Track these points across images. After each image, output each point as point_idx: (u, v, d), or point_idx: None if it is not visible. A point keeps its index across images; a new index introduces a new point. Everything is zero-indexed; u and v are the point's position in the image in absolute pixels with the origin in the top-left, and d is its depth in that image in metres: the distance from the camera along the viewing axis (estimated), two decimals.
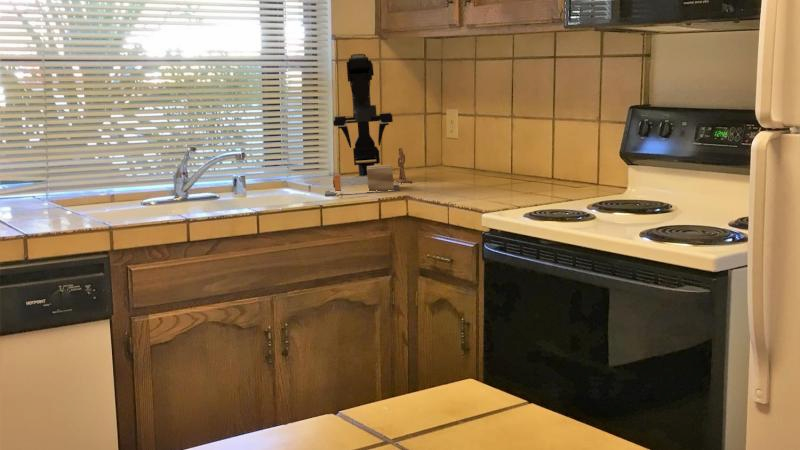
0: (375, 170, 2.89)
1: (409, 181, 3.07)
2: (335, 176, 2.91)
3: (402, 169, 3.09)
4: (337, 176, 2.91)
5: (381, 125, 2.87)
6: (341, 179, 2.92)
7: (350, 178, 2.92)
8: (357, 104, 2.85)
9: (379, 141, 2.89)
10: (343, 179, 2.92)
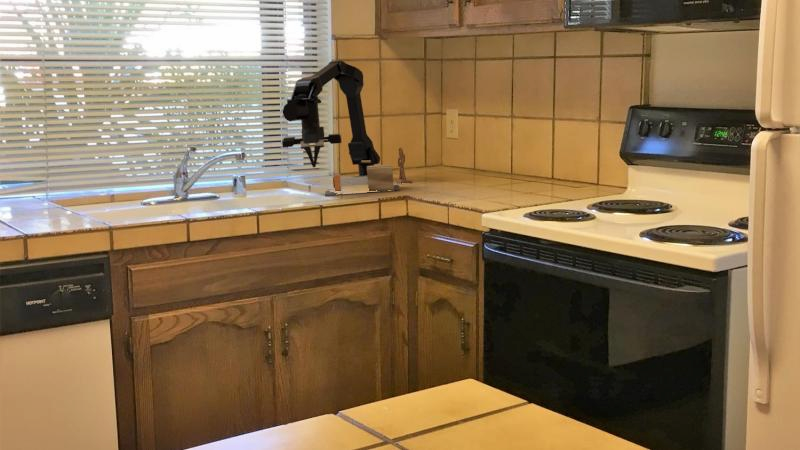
0: (375, 170, 2.89)
1: (409, 181, 3.07)
2: (335, 176, 2.91)
3: (402, 169, 3.09)
4: (337, 176, 2.91)
5: (316, 147, 2.89)
6: (341, 179, 2.92)
7: (350, 178, 2.92)
8: (305, 125, 2.87)
9: (314, 163, 2.92)
10: (343, 179, 2.92)
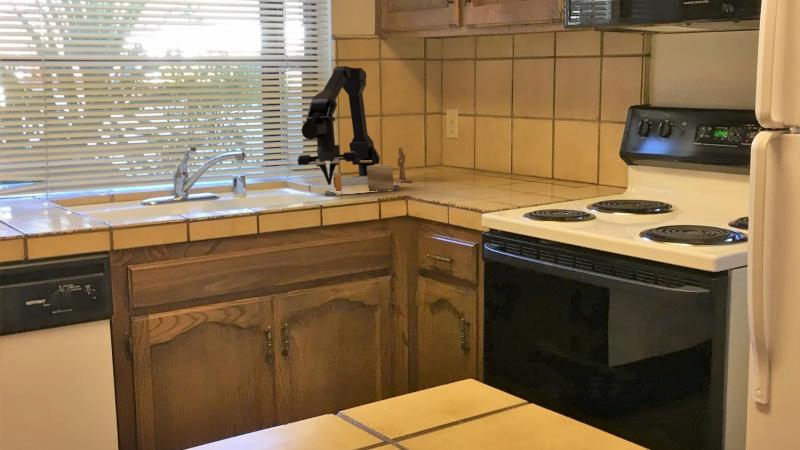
0: (375, 170, 2.89)
1: (409, 181, 3.07)
2: (336, 176, 2.91)
3: (402, 169, 3.09)
4: (338, 176, 2.91)
5: (331, 165, 2.90)
6: (342, 179, 2.92)
7: (351, 178, 2.92)
8: (321, 144, 2.88)
9: (330, 180, 2.93)
10: (344, 179, 2.92)
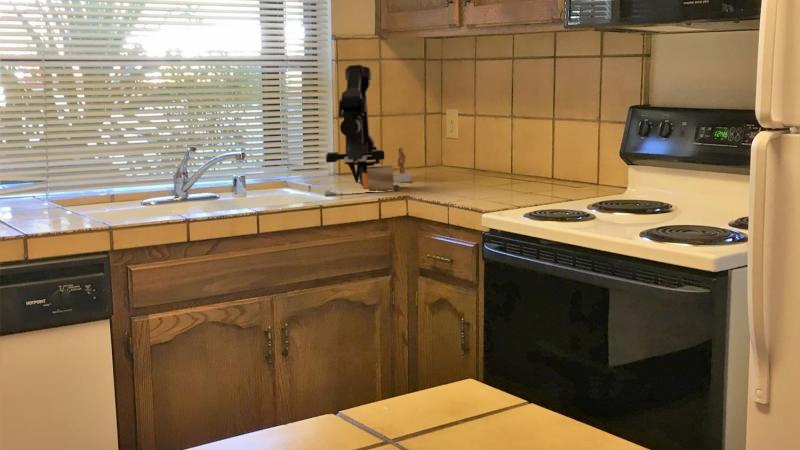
0: (375, 170, 2.89)
1: None
2: (363, 174, 2.91)
3: (402, 169, 3.09)
4: (365, 174, 2.91)
5: (359, 163, 2.91)
6: None
7: None
8: (349, 141, 2.89)
9: (357, 178, 2.93)
10: None
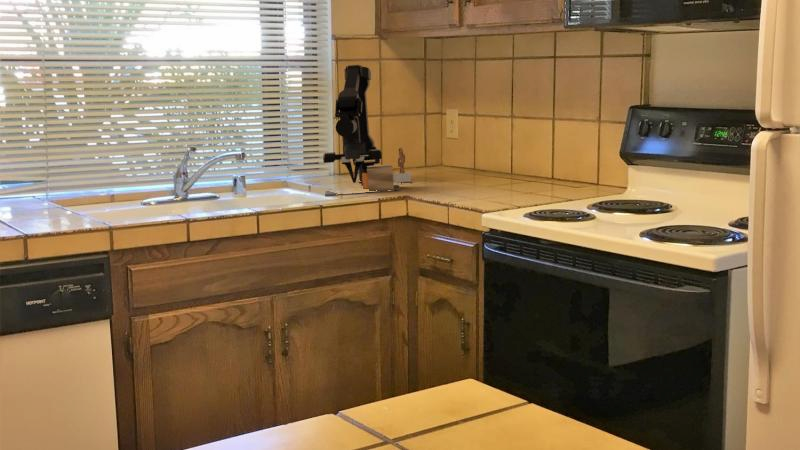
0: (375, 170, 2.89)
1: None
2: (363, 174, 2.91)
3: (402, 169, 3.09)
4: (365, 174, 2.91)
5: (357, 163, 2.90)
6: None
7: None
8: (347, 141, 2.89)
9: (355, 178, 2.93)
10: None
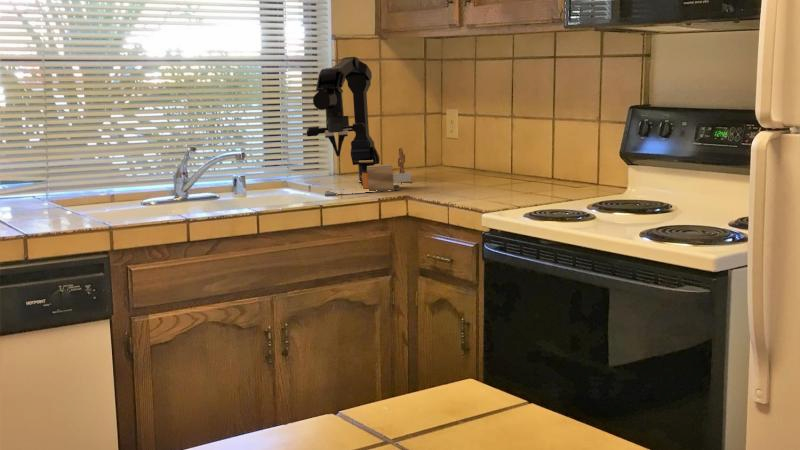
0: (375, 170, 2.89)
1: None
2: (363, 174, 2.91)
3: (402, 169, 3.09)
4: (365, 174, 2.91)
5: (340, 136, 2.90)
6: None
7: None
8: (330, 115, 2.88)
9: (338, 152, 2.93)
10: None
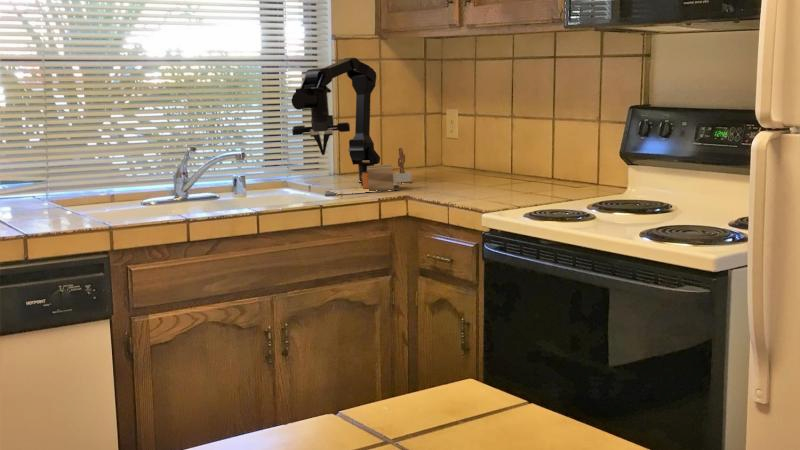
0: (375, 170, 2.89)
1: None
2: (363, 174, 2.91)
3: (402, 169, 3.09)
4: (365, 174, 2.91)
5: (325, 135, 2.96)
6: None
7: None
8: (315, 114, 2.95)
9: (324, 151, 2.99)
10: None
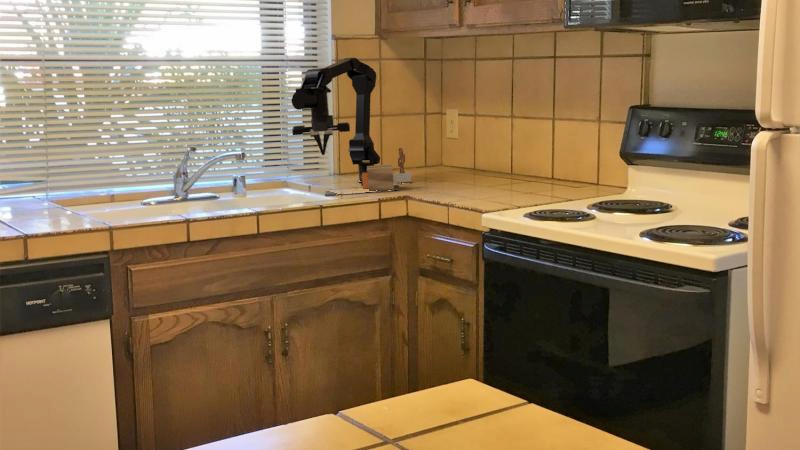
0: (375, 170, 2.89)
1: None
2: (363, 174, 2.91)
3: (402, 169, 3.09)
4: (365, 174, 2.91)
5: (325, 135, 2.96)
6: None
7: None
8: (315, 114, 2.95)
9: (324, 151, 2.99)
10: None
